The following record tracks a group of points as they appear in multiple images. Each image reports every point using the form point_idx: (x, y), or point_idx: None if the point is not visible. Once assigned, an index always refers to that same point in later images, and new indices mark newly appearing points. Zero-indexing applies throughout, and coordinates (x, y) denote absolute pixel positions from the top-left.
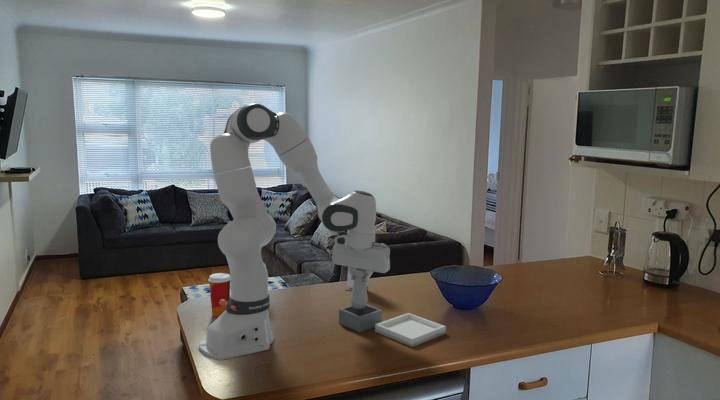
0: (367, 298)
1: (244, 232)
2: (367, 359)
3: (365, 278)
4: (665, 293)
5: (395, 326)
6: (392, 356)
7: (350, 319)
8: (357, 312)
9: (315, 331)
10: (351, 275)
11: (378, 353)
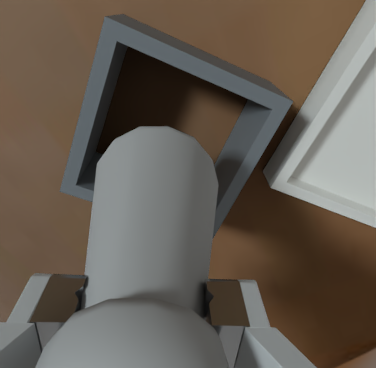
0: (214, 176)
1: None
2: (296, 332)
3: (234, 363)
4: None
5: (351, 115)
6: (360, 300)
7: None
8: (116, 66)
9: (59, 254)
10: (35, 364)
11: (317, 300)
